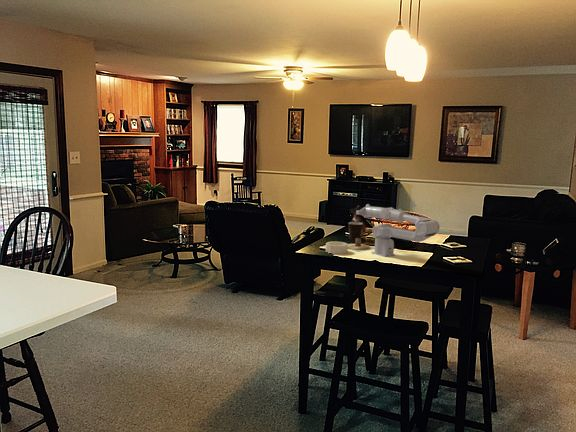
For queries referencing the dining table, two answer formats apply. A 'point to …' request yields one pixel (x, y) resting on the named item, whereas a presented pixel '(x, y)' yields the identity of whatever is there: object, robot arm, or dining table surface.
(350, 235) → the coffee mug
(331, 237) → the dining table surface
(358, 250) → the mat
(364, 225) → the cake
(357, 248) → the lid
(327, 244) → the bowl
